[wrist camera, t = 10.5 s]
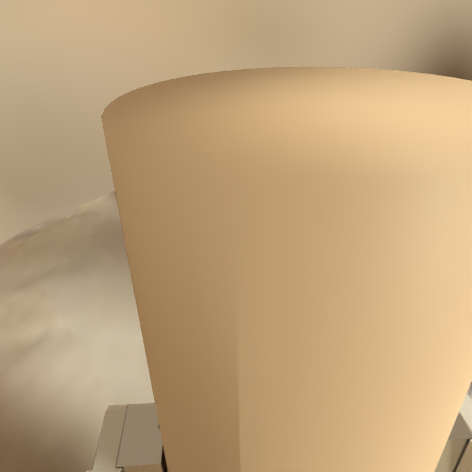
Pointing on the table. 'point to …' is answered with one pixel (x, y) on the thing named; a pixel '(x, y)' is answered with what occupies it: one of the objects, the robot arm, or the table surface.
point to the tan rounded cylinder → (300, 264)
